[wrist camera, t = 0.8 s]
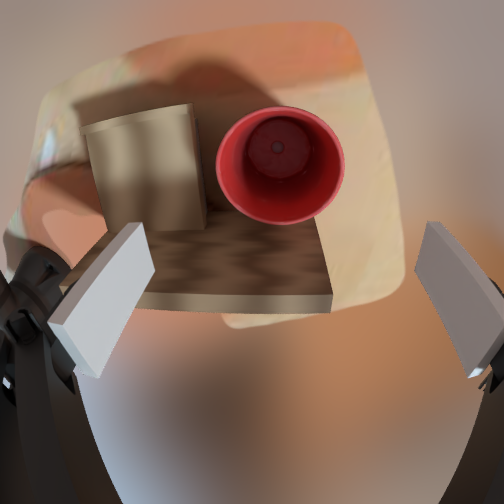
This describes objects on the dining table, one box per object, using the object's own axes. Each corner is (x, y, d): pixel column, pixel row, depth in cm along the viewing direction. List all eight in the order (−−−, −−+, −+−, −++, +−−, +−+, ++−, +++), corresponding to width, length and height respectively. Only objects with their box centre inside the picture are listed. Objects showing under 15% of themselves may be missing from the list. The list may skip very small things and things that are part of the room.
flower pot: (235, 97, 28) (219, 99, 20) (332, 111, 28) (356, 120, 20) (227, 183, 34) (211, 217, 25) (316, 195, 34) (330, 233, 25)
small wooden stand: (125, 215, 37) (104, 236, 32) (106, 119, 30) (79, 127, 25) (212, 211, 36) (202, 233, 31) (201, 101, 28) (185, 104, 23)
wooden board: (125, 228, 38) (66, 300, 25) (122, 216, 37) (58, 285, 24) (311, 224, 36) (330, 313, 22) (312, 210, 35) (333, 294, 21)
